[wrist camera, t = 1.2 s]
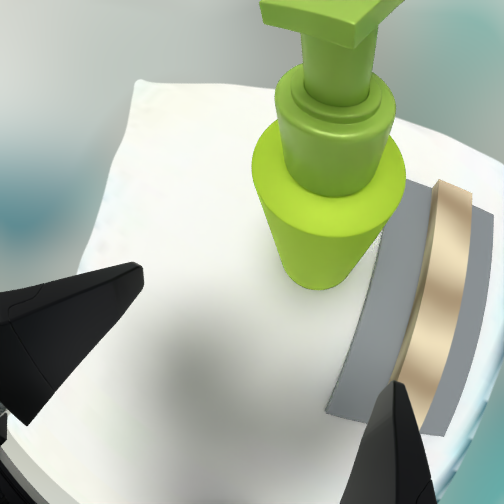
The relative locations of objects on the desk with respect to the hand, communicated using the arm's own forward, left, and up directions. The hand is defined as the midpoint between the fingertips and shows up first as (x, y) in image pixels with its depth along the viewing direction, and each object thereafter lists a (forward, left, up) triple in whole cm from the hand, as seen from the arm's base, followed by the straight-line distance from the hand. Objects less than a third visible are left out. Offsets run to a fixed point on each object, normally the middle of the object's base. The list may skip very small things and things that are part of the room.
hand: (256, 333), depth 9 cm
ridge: (+5, -11, -13) cm, 18 cm away
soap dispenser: (+7, -1, -14) cm, 15 cm away
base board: (+5, -11, -13) cm, 18 cm away
